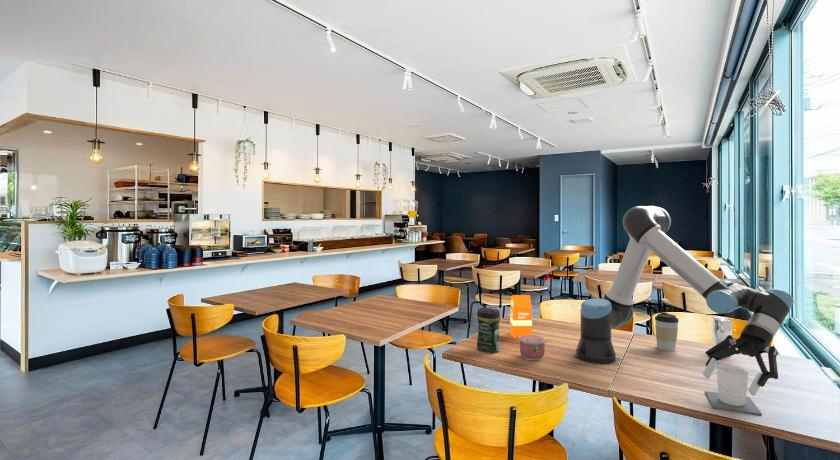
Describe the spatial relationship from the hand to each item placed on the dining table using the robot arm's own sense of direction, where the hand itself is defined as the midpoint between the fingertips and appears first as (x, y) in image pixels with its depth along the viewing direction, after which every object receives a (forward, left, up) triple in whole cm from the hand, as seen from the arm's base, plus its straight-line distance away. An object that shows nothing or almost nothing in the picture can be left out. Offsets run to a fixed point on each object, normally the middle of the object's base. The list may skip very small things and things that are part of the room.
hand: (727, 384), depth 131 cm
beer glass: (+10, +54, -7) cm, 55 cm away
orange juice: (-72, +49, -7) cm, 88 cm away
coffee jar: (-81, +22, -7) cm, 85 cm away
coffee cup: (-10, +54, -7) cm, 56 cm away
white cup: (+2, +2, -6) cm, 7 cm away
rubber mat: (+2, +2, -6) cm, 7 cm away
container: (-62, +20, -7) cm, 66 cm away
